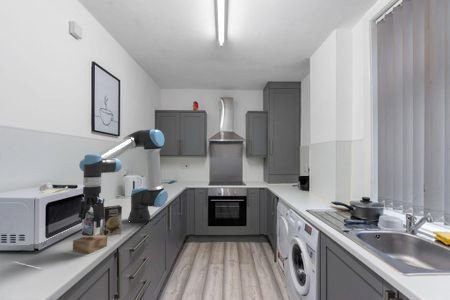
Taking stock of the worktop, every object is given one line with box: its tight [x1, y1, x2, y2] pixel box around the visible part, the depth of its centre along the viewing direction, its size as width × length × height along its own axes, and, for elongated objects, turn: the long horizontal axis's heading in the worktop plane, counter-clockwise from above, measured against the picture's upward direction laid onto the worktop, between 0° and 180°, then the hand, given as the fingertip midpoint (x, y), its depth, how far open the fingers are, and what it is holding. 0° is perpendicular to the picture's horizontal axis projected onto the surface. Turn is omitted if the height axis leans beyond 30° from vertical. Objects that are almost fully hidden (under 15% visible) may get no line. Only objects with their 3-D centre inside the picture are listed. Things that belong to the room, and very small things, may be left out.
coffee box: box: [101, 204, 123, 237], centre depth 127 cm, size 9×6×16 cm
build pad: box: [65, 243, 114, 258], centre depth 105 cm, size 14×14×1 cm
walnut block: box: [72, 234, 108, 254], centre depth 105 cm, size 10×10×5 cm
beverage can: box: [81, 209, 95, 237], centre depth 105 cm, size 6×7×12 cm
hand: (90, 233), depth 105 cm, fingers closed on beverage can, 7 cm apart
